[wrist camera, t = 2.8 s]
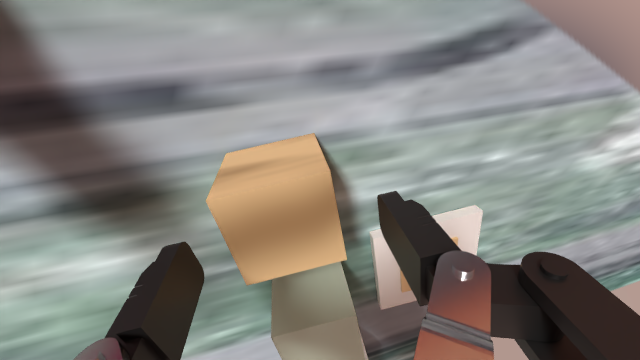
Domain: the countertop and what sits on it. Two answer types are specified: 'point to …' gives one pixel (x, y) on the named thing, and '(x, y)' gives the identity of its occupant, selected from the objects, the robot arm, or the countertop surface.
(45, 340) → the countertop surface
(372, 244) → the tile
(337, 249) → the maple block
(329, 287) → the sage block
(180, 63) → the countertop surface
